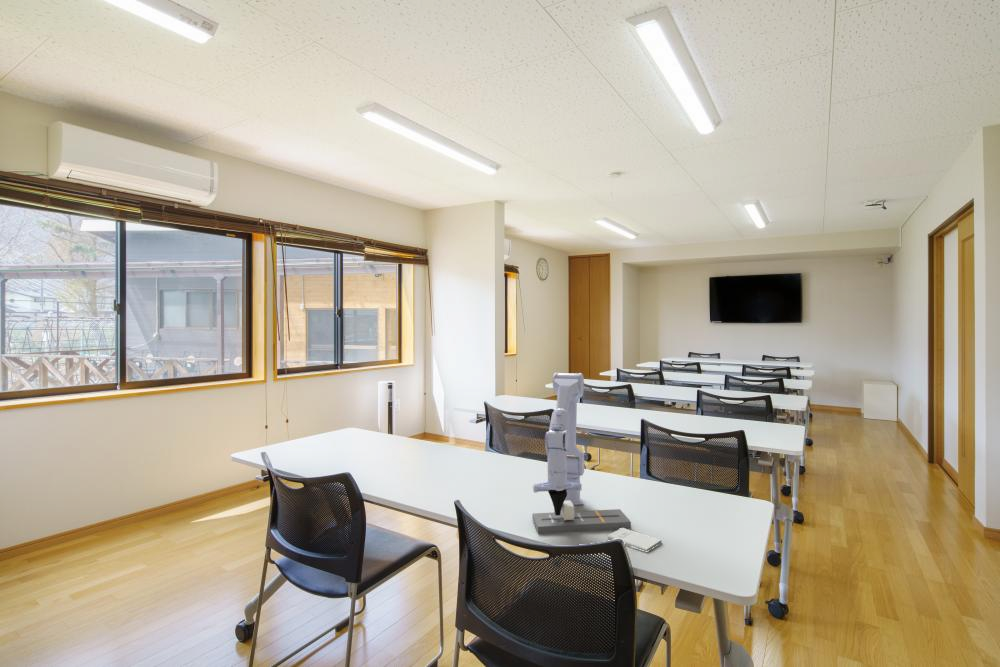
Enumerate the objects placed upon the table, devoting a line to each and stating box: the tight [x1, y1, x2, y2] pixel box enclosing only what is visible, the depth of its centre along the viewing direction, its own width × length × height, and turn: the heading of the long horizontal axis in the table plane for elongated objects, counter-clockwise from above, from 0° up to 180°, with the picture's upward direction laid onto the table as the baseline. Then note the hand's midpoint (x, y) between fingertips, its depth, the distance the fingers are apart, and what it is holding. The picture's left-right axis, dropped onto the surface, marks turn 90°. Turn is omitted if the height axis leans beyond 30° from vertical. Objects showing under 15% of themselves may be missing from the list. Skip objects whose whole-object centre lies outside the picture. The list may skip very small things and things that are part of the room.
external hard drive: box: [606, 528, 663, 551], centre depth 144 cm, size 2×8×12 cm
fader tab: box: [561, 500, 575, 520], centre depth 155 cm, size 5×3×4 cm, turn 5°
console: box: [531, 508, 632, 534], centre depth 156 cm, size 10×28×2 cm, turn 95°
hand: (557, 514), depth 155 cm, fingers closed
